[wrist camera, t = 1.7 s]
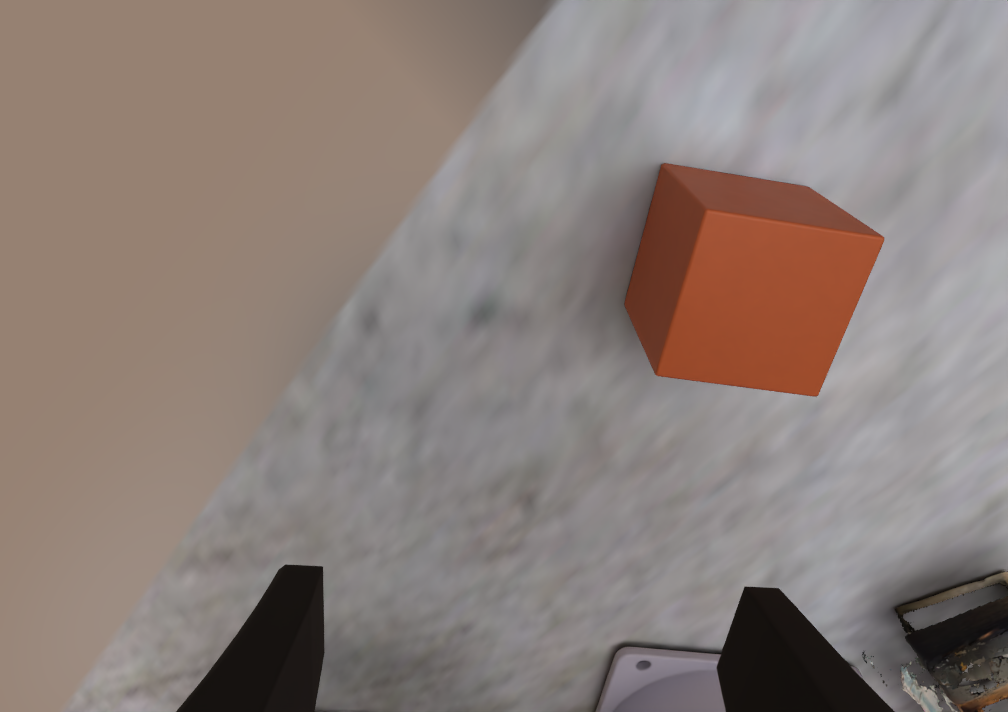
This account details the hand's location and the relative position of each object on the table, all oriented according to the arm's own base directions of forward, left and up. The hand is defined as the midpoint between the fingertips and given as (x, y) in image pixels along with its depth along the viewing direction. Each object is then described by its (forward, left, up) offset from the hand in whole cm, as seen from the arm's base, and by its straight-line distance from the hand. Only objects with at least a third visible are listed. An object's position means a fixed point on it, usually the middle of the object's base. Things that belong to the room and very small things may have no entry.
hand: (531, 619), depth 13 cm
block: (-5, -4, -10) cm, 12 cm away
